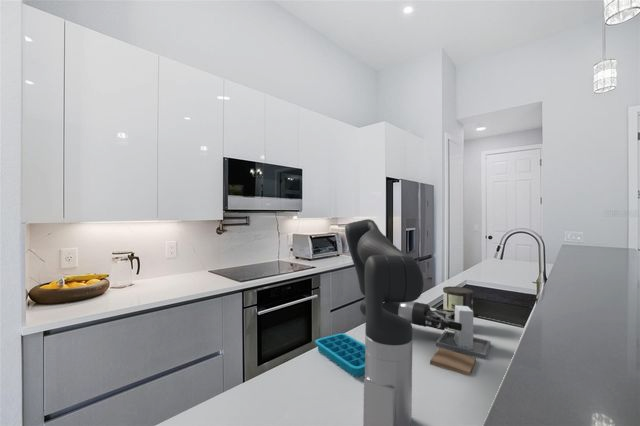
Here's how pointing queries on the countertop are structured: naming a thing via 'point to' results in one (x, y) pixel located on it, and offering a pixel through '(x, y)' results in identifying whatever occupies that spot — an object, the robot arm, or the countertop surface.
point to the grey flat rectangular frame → (462, 350)
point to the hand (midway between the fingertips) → (464, 323)
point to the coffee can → (457, 298)
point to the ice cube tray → (344, 352)
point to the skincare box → (464, 327)
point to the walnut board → (453, 361)
